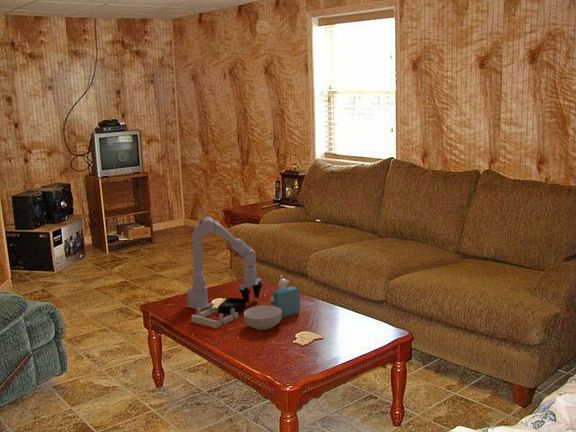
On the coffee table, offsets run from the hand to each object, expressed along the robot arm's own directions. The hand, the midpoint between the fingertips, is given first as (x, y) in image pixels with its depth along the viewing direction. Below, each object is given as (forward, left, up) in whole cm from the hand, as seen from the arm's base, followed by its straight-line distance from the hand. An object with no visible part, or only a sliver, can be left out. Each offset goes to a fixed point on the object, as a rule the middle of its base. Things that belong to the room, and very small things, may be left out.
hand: (251, 299), depth 312 cm
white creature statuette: (+12, +10, -2) cm, 16 cm away
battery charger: (-2, -12, -2) cm, 13 cm away
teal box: (+24, -3, -2) cm, 24 cm away
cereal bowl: (+24, -21, -2) cm, 32 cm away
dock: (0, -26, -1) cm, 26 cm away
